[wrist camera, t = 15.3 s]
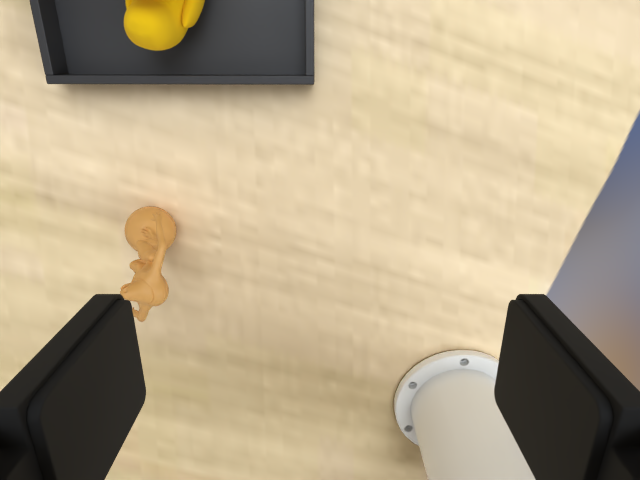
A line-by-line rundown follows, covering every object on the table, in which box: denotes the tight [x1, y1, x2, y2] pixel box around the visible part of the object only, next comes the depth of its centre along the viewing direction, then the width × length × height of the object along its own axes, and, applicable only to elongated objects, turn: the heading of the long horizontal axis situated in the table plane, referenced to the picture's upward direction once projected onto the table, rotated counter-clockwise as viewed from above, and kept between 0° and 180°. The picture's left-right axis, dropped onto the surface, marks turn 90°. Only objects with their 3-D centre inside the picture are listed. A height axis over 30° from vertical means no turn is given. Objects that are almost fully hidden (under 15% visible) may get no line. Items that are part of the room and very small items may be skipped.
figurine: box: [120, 207, 176, 322], centre depth 34 cm, size 8×6×12 cm
